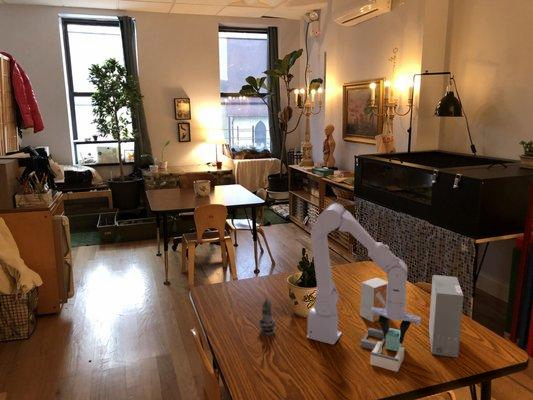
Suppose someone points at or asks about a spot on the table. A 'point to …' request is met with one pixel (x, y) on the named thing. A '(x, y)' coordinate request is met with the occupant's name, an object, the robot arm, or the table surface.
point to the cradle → (370, 343)
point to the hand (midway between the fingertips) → (394, 340)
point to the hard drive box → (445, 315)
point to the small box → (372, 297)
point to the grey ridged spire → (267, 319)
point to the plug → (393, 339)
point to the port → (386, 358)
